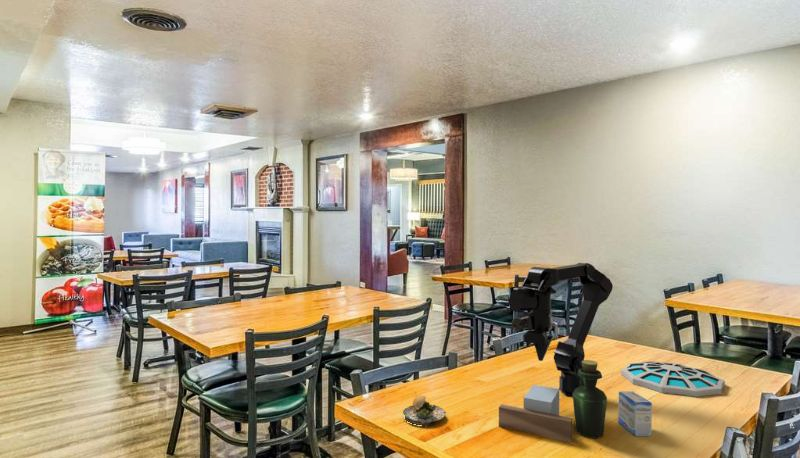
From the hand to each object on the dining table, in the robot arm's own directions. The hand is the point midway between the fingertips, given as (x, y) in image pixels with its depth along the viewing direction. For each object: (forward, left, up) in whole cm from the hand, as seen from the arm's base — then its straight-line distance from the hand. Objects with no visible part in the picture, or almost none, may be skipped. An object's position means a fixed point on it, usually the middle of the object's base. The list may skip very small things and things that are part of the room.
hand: (540, 360), depth 138 cm
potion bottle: (-6, +22, -12) cm, 26 cm away
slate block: (+5, +15, -12) cm, 20 cm away
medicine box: (-18, +20, -12) cm, 30 cm away
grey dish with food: (+36, +12, -12) cm, 40 cm away
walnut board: (+8, +21, -12) cm, 26 cm away
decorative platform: (-50, -17, -13) cm, 54 cm away
